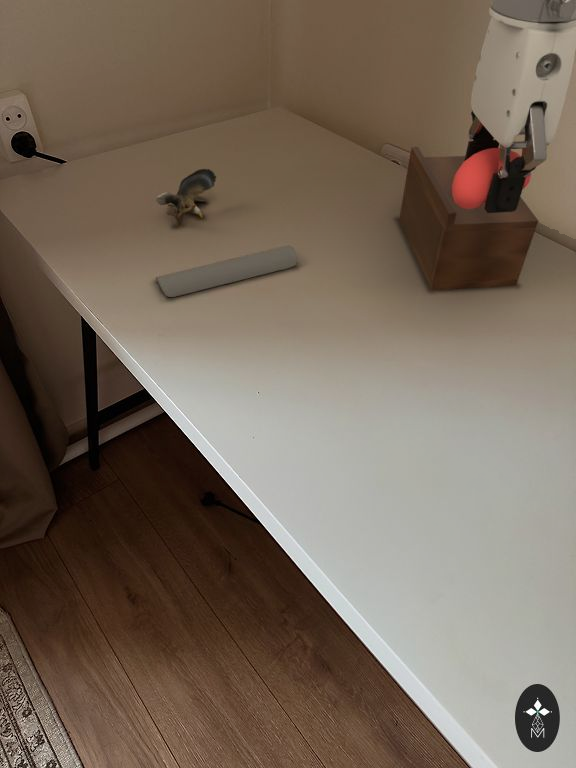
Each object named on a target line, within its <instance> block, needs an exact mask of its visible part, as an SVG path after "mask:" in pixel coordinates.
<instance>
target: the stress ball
mask: <svg viewBox="0 0 576 768" xmlns="http://www.w3.org/2000/svg"><path fill="white" fill-rule="evenodd" d="M499 155H500V147H499V148H490V149H486V150H482V151H480V152H478V153H476V154H474V155H472V156H471V157H470V158H468V159H467V160H466V161H465V162H463V164H462V165H461V166H460V168H459V169H458V171H457V172H456V174H455V177H454V180H453V184H452V195H453V198H454V201H455V203H456V204H457V205H459V206H460V207H462V208H465V209H473V208H476V207H479V206H481V205H483V204H485V203H486V200H487V196H488V192H489V188H490V184H491V181H492V177H493V173H498V167H499ZM521 156H522V155H521V154H519V153H518V152H516V151H514V150H513V149H511V154H510V162H511V161H512V160H514V159H515V158H516V157H521ZM531 178H532V173H531V174H530V176H529V177H526V180H525V183H524V186H523V190H524V189H525V188H526V187H527V186H528V185H529V183H530V181H531Z"/></svg>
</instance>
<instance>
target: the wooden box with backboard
mask: <svg viewBox="0 0 576 768" xmlns="http://www.w3.org/2000/svg"><path fill="white" fill-rule="evenodd" d="M464 160H465V155H453V156H452V155H451V156H448V155H447V156H424V154H423V153H422V151H421V149H420V147H419V146H411V148H410V154H409V158H408V165H407V171H406V176H405V181H404V187H403V194H402V200H401V206H400V211H399V218H398V220H399V222H400V224H401V227H402V228H403V231H404V233H405V236H406V238H407V240H408V242H409V244H410V246H411V249H412V250H413V253H414V255H415V258H416V260H417V261H418V263H419V266H420V268H421V271H422V273H423V274H424V276H425V279H426V281H427V283H428V285H429V287H430V290H432V291H433V290H434V291H435V290H453V289H454V290H455V289H472V288H473V289H475V288H490V287H508V286H517V284H518V282H519V281H518V280H519V278H520V275H521V272H522V269H523V267H524V263H525V261H526V258H527V255H528V252H529V249H530V246H531V244H532V241H533V238H534V235H535V232H536V229H537V226H538V224H539V219H538V218H537V217H536V215H535V214H534V213H533V211H532V210H531V208H530V207H529V206H528V204H527V203H526V202H525V200H524V199H523V197H521V196H520V199H519V203H518V206H517V209H516V210H515V211H513V212H500V213H487V212H486V210H485V209H484V207H485V204H483V205H481V206H479V207H476V208H473V209H465V208H462V207H460V206H459V205H457V204H456V203H455V201H454V198H453V195H452V184H453V180H454V177H455V174H456V172H457V171H458V169H459V168H460V166H461V165H462V164H463V162H464Z"/></svg>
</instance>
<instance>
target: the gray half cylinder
mask: <svg viewBox="0 0 576 768" xmlns="http://www.w3.org/2000/svg"><path fill="white" fill-rule="evenodd" d="M297 263H298V255H297V252H296V249H295V248H294V246H293V245H284V246H280V247H276V248H272V249H267V250H264V251H263V250H262V251H259V252H256V253H255V252H254V253H251V254H247V255H242V256H238V257H234V258H231V259H230V258H229V259H225V260H222V261H218V262H213V263H209V264H206V265H205V264H204V265H201V266H197V267H192V268H189V269H185V270H179V271H176V272H171V273H167V274H163V275H158V276H155V280H156V281H157V284H158V285H159V287H160V289H161V291H162V292H163V294H164V295H165V296H166V297H168V298H175V297H179V296H184V295H187V294H192V293H195V292H199V291H203V290H207V289H211V288H215V287H219V286H222V285H226V284H230V283H234V282H238V281H243V280H247V279H251V278H253V277H258V276H262V275H266V274H271V273H274V272H279V271H283V270H287V269H291V268H292V267H295V266H296V264H297Z"/></svg>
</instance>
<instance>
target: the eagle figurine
mask: <svg viewBox="0 0 576 768" xmlns="http://www.w3.org/2000/svg"><path fill="white" fill-rule="evenodd" d="M216 180H217V176H216V174H215V172H214V171H213V170H211V169H210V168H199V169H197V170H195V171H194V172H192V173H190V174H189V175H186V177H184V178H183V179H182V180H181V181H180V183H179V186H178V190H177V193H176V194H172V193H171V192H169V191H167V192H163V193H162V194H159V195H158V196H156V197H155V202H156V203H157V204H158V205H160V206H166V205H167V206H168V207H171V208H172V209H173V211H172V212H167V215H168V216H174V218H175V222H174V223H175V227H177V228H178V226H179V225H180V224H181V223H182V222H183V220H184V217H185V215H186V214H187V213H193V214H194V215H197V216H199V217H200V218H201V219H203V214H202V210H201V209H200V208H199V207H198V206H197V205H196V204H195V202H206V200H205V199H203V198H201V197H197V196H199V195H202V194H204V193H205V192H206V191H209V190H211V189H212V188H213V187H214V186H215V183H216Z"/></svg>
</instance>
